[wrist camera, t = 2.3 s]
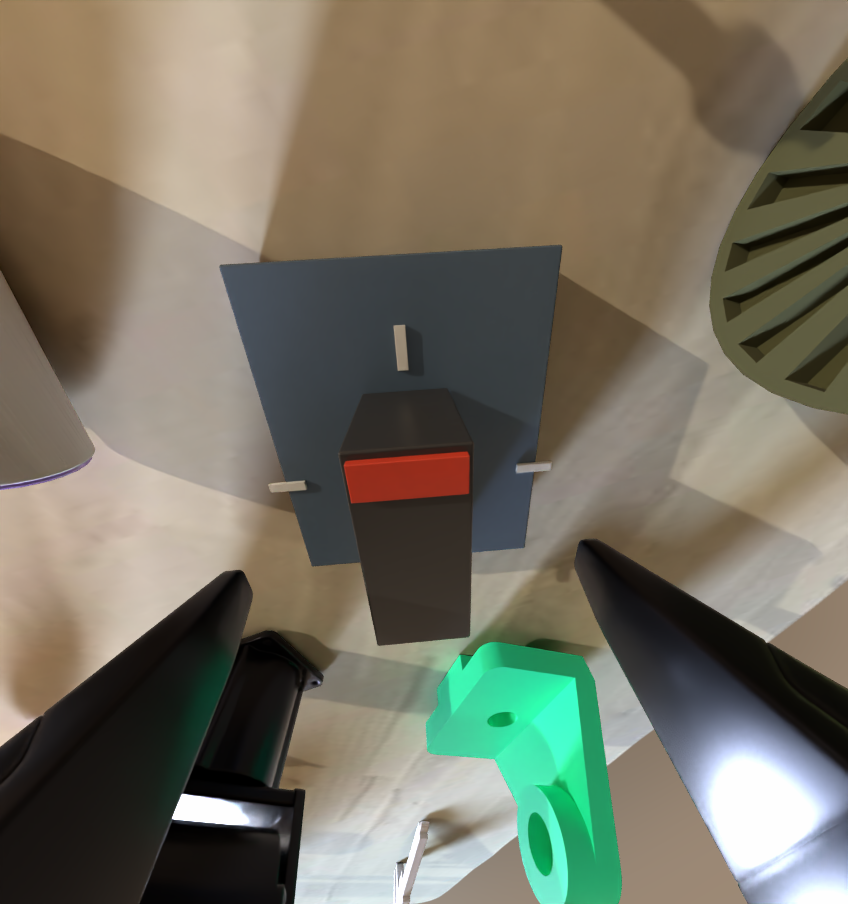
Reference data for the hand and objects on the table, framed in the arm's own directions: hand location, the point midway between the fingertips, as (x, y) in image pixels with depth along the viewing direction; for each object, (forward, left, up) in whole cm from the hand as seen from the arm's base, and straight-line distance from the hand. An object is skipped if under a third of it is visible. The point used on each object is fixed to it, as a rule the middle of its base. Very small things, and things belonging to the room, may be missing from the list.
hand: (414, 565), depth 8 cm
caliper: (-55, +25, -7) cm, 61 cm away
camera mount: (-21, +2, -7) cm, 22 cm away
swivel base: (+1, -1, -7) cm, 7 cm away
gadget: (0, 0, -5) cm, 5 cm away
